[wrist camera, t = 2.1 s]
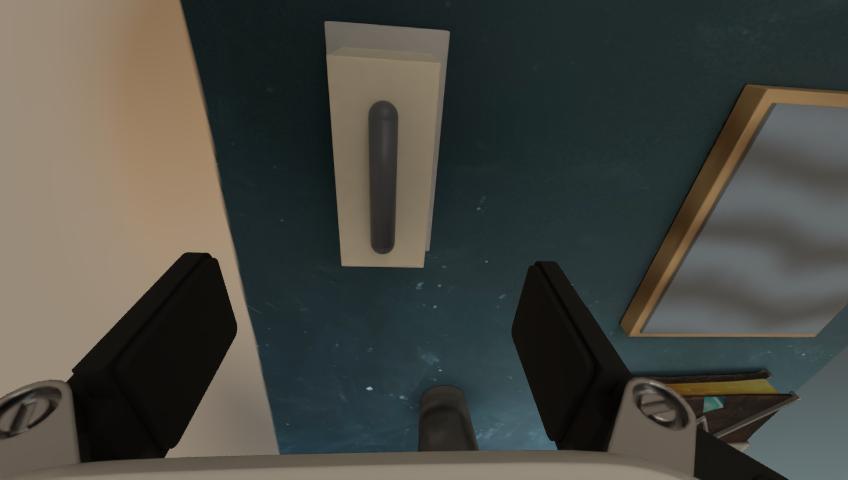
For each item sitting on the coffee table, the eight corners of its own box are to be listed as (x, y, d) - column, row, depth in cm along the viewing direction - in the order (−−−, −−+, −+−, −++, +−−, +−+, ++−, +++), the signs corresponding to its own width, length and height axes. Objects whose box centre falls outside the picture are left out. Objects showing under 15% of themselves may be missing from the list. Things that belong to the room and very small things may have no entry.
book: (614, 370, 35) (643, 418, 31) (770, 364, 36) (819, 410, 32) (562, 472, 47) (578, 517, 42) (681, 466, 48) (709, 509, 43)
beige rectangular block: (329, 21, 17) (292, 22, 11) (446, 30, 18) (470, 36, 12) (343, 237, 24) (325, 309, 18) (427, 239, 25) (436, 310, 19)
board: (745, 84, 20) (772, 89, 19) (1003, 102, 22) (1048, 108, 20) (619, 324, 31) (630, 339, 30) (798, 325, 33) (818, 339, 31)
